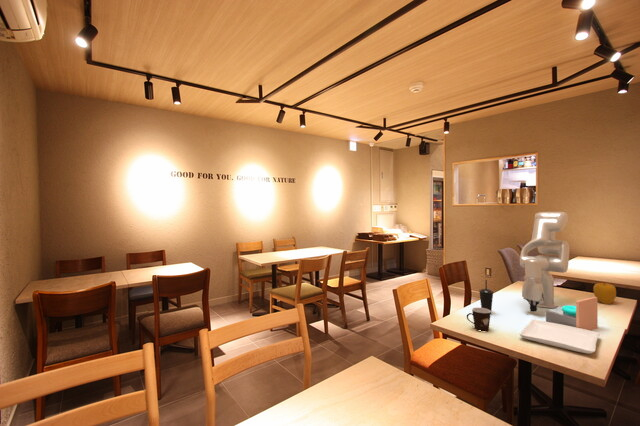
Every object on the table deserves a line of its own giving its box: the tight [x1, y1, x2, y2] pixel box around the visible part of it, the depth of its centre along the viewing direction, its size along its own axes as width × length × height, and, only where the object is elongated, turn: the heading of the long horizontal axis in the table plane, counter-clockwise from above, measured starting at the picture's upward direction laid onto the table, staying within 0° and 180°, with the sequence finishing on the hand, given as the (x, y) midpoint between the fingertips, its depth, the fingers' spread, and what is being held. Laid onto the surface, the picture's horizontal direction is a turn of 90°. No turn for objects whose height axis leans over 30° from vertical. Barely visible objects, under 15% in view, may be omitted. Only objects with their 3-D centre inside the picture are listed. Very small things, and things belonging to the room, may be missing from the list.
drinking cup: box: [478, 279, 494, 312], centre depth 183 cm, size 8×8×20 cm
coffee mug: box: [466, 307, 492, 332], centre depth 161 cm, size 12×9×10 cm
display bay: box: [545, 296, 599, 331], centre depth 162 cm, size 15×16×16 cm
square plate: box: [519, 319, 601, 354], centre depth 147 cm, size 27×27×4 cm
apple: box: [592, 282, 617, 305], centre depth 198 cm, size 11×11×13 cm
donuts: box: [561, 304, 576, 316], centre depth 162 cm, size 10×10×10 cm
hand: (533, 311), depth 180 cm, fingers closed
